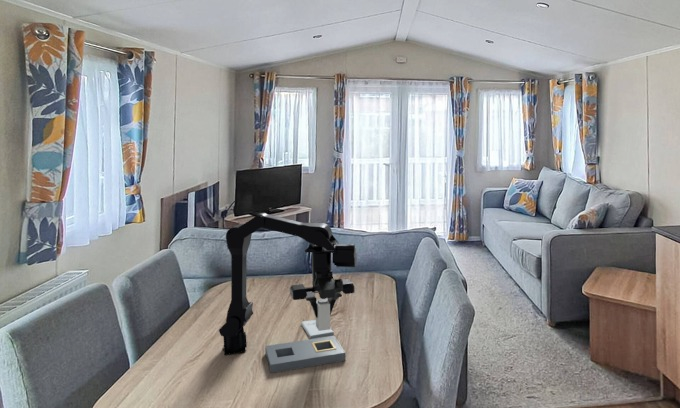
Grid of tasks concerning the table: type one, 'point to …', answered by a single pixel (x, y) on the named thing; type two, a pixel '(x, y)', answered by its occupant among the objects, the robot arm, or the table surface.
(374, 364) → the table surface
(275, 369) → the panel
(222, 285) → the table surface
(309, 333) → the external hard drive
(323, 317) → the plug
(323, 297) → the robot arm
